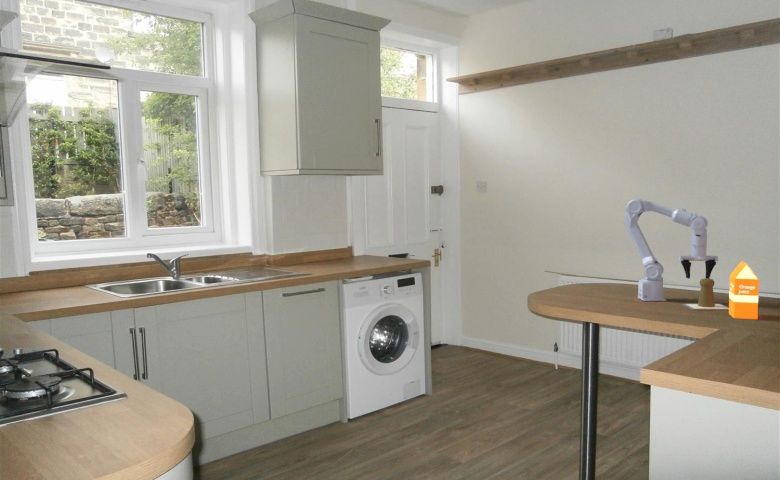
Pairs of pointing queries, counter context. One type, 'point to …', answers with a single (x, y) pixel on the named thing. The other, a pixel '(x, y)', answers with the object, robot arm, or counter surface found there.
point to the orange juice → (743, 293)
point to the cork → (706, 293)
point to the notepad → (696, 307)
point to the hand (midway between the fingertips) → (697, 278)
